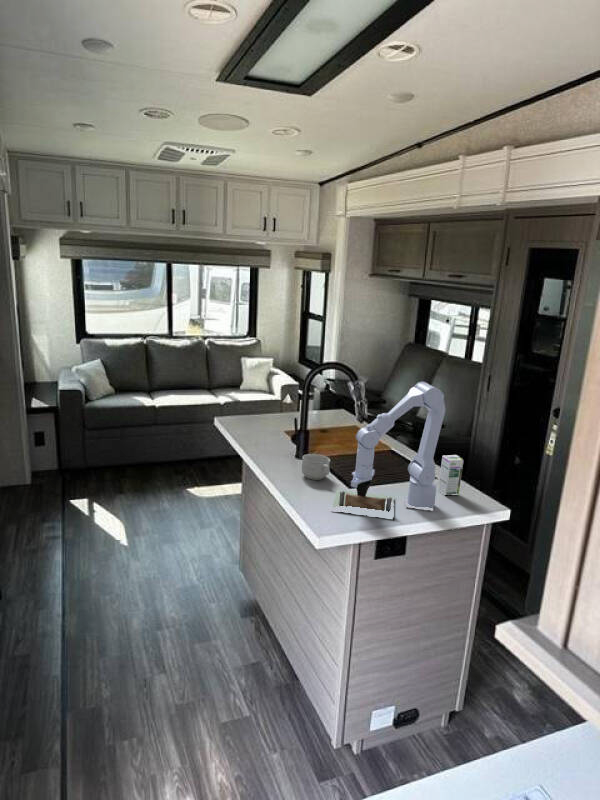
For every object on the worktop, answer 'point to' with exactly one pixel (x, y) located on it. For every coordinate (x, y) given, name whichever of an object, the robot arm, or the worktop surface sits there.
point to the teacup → (315, 466)
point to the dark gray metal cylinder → (342, 494)
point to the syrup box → (450, 474)
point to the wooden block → (365, 502)
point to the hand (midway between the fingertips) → (360, 500)
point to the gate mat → (337, 497)
